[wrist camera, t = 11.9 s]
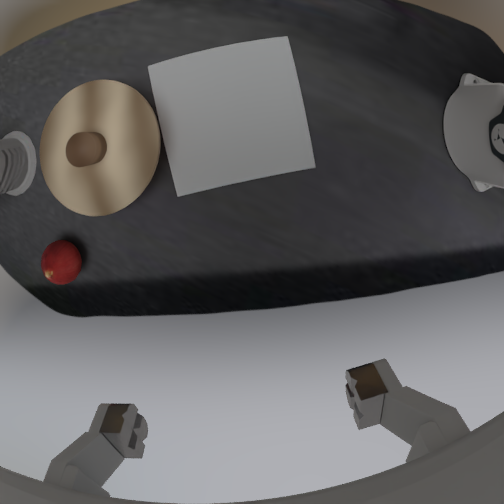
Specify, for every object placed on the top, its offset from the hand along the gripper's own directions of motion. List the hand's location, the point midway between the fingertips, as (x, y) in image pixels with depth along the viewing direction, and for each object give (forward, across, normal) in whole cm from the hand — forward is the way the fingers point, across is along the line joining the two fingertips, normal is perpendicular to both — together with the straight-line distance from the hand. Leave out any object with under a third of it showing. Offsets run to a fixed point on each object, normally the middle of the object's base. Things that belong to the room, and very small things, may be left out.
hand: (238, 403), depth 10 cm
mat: (+29, -2, -12) cm, 32 cm away
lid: (+24, +13, -12) cm, 29 cm away
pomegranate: (+29, +24, 0) cm, 38 cm away
